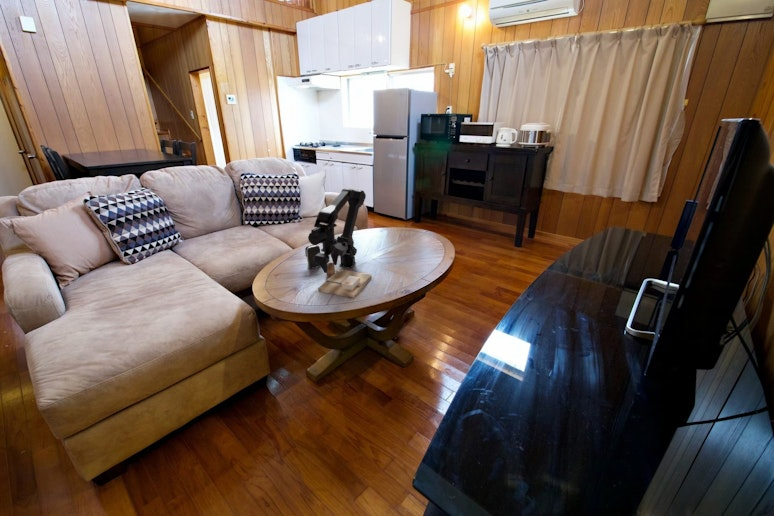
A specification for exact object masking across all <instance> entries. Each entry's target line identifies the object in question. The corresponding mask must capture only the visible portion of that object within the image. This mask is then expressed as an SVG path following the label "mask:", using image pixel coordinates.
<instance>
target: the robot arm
mask: <svg viewBox="0 0 774 516" xmlns="http://www.w3.org/2000/svg"><path fill="white" fill-rule="evenodd" d="M365 200H366V193H365V191H364V190H361V189H360V190H359V189H355V188H353V189H351V188H346V187H344V188H342V189H341V192H340V193H339V194H338V195H337V196H336V198H335V199H334V200H333V201H332V203H330V204H329V205H328V206H326V207H324V208H322V209H321V210H319V212H318V214H317V217H316V220H315V223H314V225H313V227H314V228H312V229H310V230H311V231H310V232H309V234H308V236H307V239H308V242H309V243H310V244H311V245H319V244H322V248H320V253H318V254H317V255H315V256H314V257H313V258H314V262H317V263H318V264H319V265H320V266H319V267H320V268H321V269H322V271H323V272H324V273H325V274H326V273H327V263H330V261H332V263H334V266H337V264H338V261H339V258H340V264H339V265H338V266H339V267H343V268H350V269H351V268H352V267H353V266H355V264H357V263H356V255H357V251H358V249H357V248H356V247H355V246H354V245H355V242H354V239H353V235H354V230H355V225H356V222H357V218H358V215H359V211H360V208H361V207H362V206H363V205H364V203H365ZM347 202H348V203H347ZM346 204H348V208H347V213H346V218H345V221H344V226H343V230H342V234H341V235H339V236H337V238H335V235H336V234H335V227H337V226H338V225H337V224H336V222H337V219H338V217H339V212H341V210H342V209H343V207H345V205H346ZM330 257H331V259H332V260H330Z"/></svg>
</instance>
